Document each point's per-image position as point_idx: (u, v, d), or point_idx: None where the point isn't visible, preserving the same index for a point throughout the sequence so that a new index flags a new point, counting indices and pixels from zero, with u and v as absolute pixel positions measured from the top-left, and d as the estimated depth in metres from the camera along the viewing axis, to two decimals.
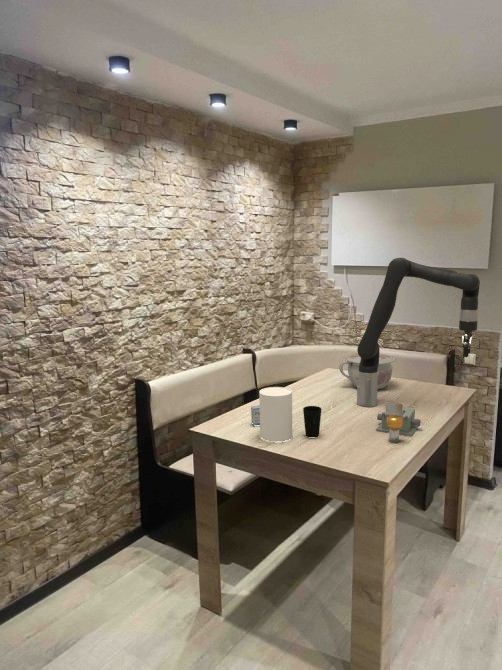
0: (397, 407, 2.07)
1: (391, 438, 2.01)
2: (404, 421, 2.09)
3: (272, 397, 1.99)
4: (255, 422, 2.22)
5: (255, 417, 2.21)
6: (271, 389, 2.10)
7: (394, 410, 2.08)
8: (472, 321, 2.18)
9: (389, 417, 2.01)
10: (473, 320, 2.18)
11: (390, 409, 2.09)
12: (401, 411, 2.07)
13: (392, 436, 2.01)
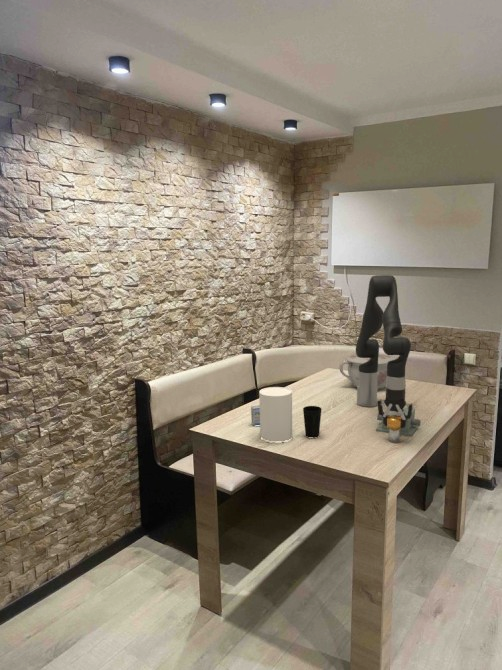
0: None
1: (391, 438, 2.01)
2: None
3: (272, 397, 1.99)
4: (255, 422, 2.22)
5: (255, 417, 2.21)
6: (271, 389, 2.10)
7: None
8: None
9: (389, 417, 2.01)
10: None
11: None
12: None
13: (392, 436, 2.00)
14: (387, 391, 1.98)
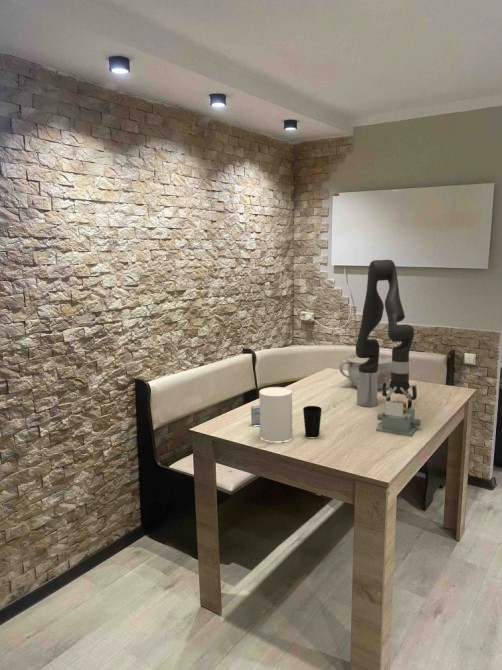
0: (397, 407, 2.07)
1: None
2: (404, 421, 2.09)
3: (272, 397, 1.99)
4: (255, 422, 2.22)
5: (255, 417, 2.21)
6: (271, 389, 2.10)
7: (394, 410, 2.08)
8: None
9: None
10: None
11: (390, 409, 2.09)
12: (401, 411, 2.07)
13: None
14: (392, 375, 2.13)
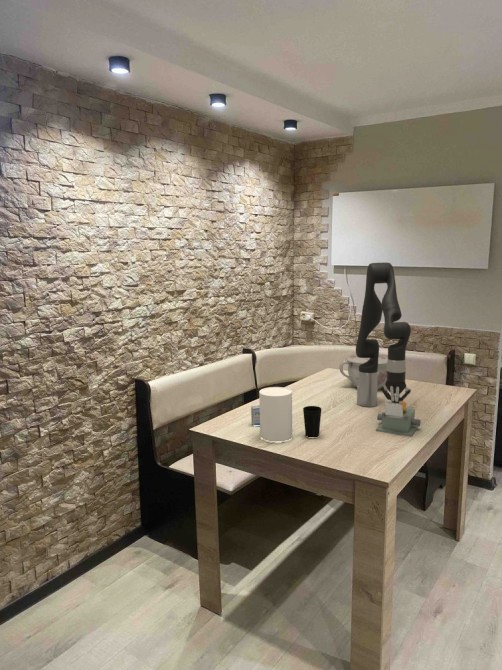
0: (397, 408, 2.06)
1: None
2: (404, 421, 2.09)
3: (272, 397, 1.99)
4: (255, 422, 2.22)
5: (255, 417, 2.21)
6: (271, 389, 2.10)
7: (394, 411, 2.08)
8: None
9: None
10: None
11: (390, 410, 2.08)
12: (401, 412, 2.06)
13: None
14: (388, 374, 2.05)
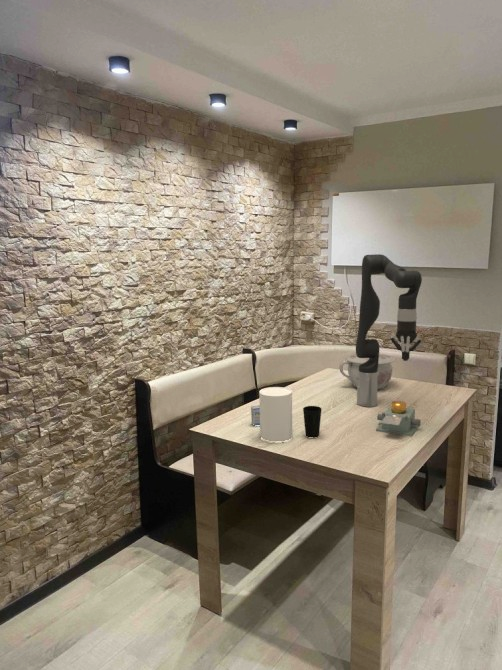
0: None
1: None
2: (404, 421, 2.09)
3: (272, 397, 1.99)
4: (255, 422, 2.22)
5: (255, 417, 2.21)
6: (271, 389, 2.10)
7: None
8: None
9: (394, 402, 2.16)
10: None
11: None
12: None
13: None
14: (399, 323, 2.04)
